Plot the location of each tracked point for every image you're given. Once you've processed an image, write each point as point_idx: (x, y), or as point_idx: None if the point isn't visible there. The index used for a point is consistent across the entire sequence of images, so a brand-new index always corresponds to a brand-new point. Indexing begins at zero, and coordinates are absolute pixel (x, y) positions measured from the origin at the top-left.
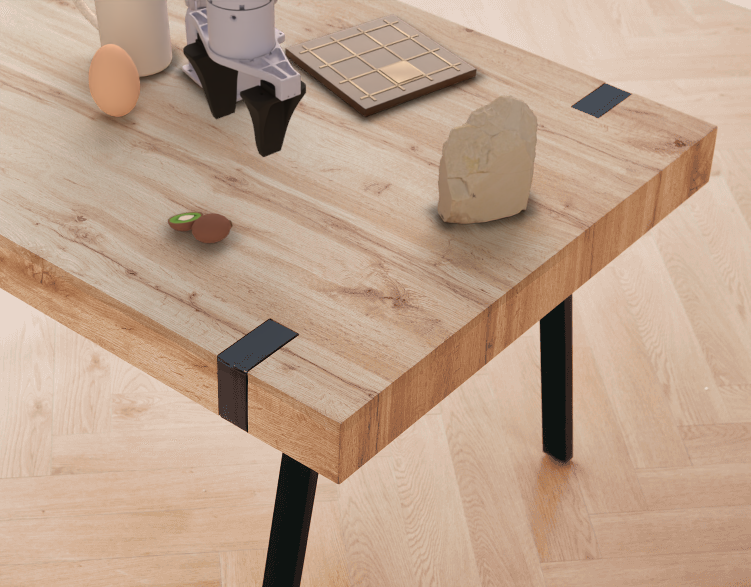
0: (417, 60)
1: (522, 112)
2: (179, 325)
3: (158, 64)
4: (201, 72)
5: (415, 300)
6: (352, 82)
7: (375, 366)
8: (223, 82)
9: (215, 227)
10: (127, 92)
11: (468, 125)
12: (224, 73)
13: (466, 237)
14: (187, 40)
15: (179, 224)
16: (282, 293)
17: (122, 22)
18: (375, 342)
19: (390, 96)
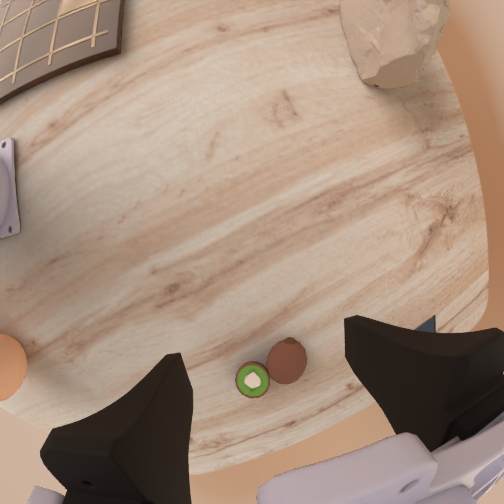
0: None
1: None
2: (372, 399)
3: None
4: (189, 497)
5: (453, 197)
6: (58, 49)
7: (478, 271)
8: (173, 425)
9: (303, 366)
10: (13, 366)
11: (438, 7)
12: (168, 440)
13: (404, 89)
14: None
15: (265, 391)
16: (394, 312)
17: None
18: (467, 259)
19: (112, 14)
